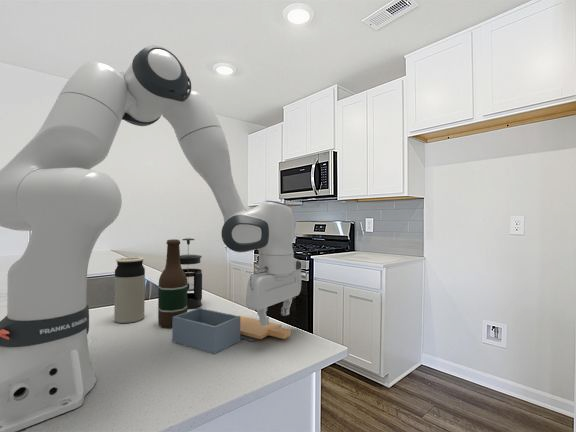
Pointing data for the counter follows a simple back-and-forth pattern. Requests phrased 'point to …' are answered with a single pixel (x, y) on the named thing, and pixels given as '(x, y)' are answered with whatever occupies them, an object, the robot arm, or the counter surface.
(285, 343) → the counter surface
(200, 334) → the tub
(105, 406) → the counter surface
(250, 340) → the mat
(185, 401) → the counter surface
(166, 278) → the beer bottle
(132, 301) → the travel mug
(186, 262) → the french press
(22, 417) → the robot arm
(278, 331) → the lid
